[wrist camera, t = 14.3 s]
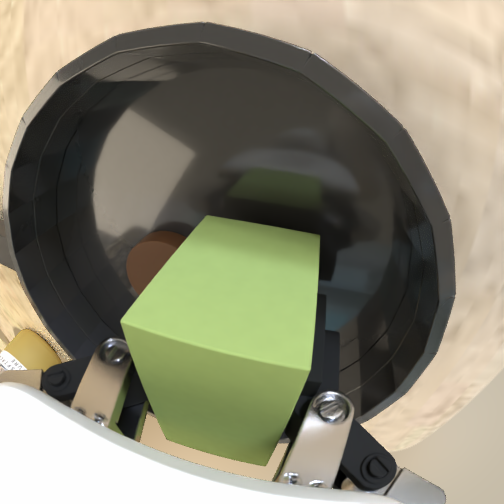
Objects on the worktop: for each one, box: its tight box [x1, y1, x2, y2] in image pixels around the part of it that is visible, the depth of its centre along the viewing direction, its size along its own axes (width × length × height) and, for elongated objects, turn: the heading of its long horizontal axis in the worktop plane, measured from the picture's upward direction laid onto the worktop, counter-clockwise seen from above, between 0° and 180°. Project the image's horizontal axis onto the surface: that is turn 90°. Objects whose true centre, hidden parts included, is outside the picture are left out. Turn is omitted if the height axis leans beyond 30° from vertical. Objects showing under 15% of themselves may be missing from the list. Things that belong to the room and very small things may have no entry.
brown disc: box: [126, 231, 186, 296], centre depth 13 cm, size 4×4×1 cm
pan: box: [2, 22, 456, 443], centre depth 12 cm, size 19×19×4 cm
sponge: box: [121, 215, 320, 466], centre depth 9 cm, size 4×7×6 cm, turn 175°
